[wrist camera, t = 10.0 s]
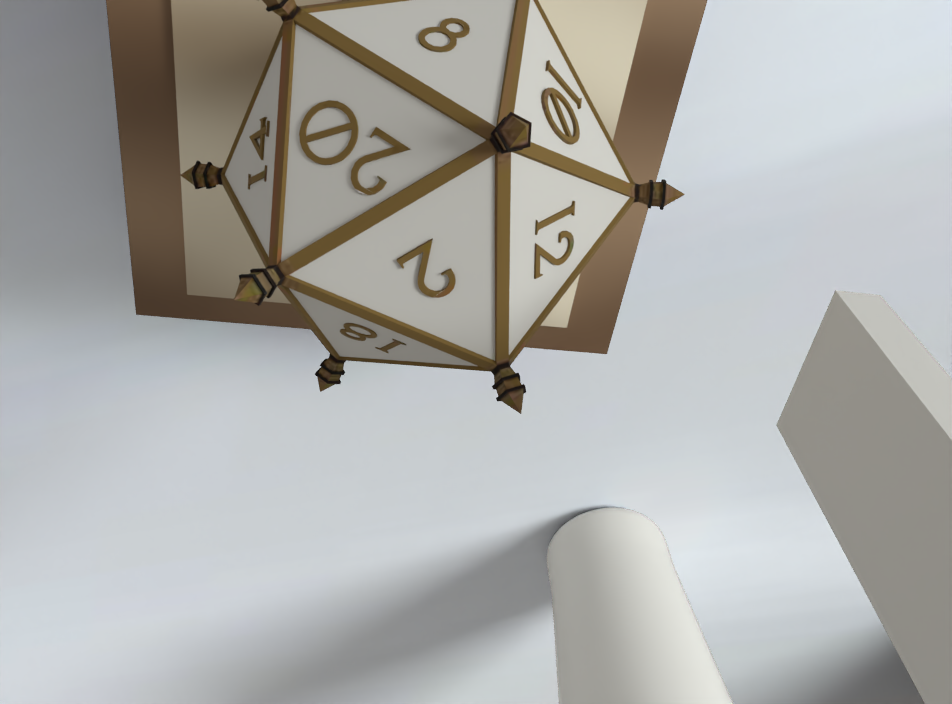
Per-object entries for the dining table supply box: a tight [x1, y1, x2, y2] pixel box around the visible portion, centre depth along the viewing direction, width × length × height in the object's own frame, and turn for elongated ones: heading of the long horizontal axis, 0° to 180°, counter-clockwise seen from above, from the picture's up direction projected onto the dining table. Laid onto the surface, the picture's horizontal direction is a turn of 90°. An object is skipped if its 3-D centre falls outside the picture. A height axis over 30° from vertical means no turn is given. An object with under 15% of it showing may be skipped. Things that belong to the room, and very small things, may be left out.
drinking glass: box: [547, 508, 734, 704], centre depth 33 cm, size 7×7×15 cm
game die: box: [180, 0, 685, 414], centre depth 17 cm, size 9×8×10 cm
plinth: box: [106, 0, 707, 354], centre depth 23 cm, size 15×15×6 cm
